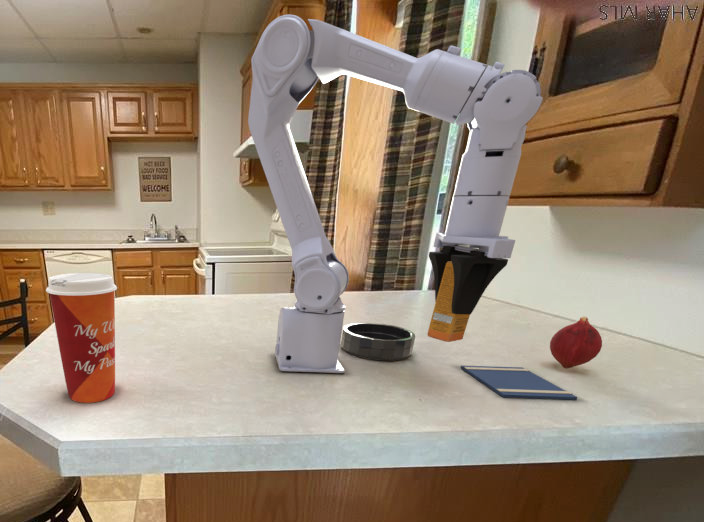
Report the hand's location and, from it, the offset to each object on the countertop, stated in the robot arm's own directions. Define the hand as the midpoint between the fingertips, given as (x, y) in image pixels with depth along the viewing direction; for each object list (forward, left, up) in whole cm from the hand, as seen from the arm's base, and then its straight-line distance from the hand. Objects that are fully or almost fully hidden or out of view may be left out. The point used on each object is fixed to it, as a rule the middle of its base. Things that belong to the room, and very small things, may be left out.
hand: (452, 309), depth 55 cm
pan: (-4, +14, -10) cm, 18 cm away
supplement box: (0, 0, -4) cm, 4 cm away
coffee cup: (-47, -8, -11) cm, 49 cm away
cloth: (+11, +1, -10) cm, 15 cm away
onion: (+23, +8, -11) cm, 27 cm away
